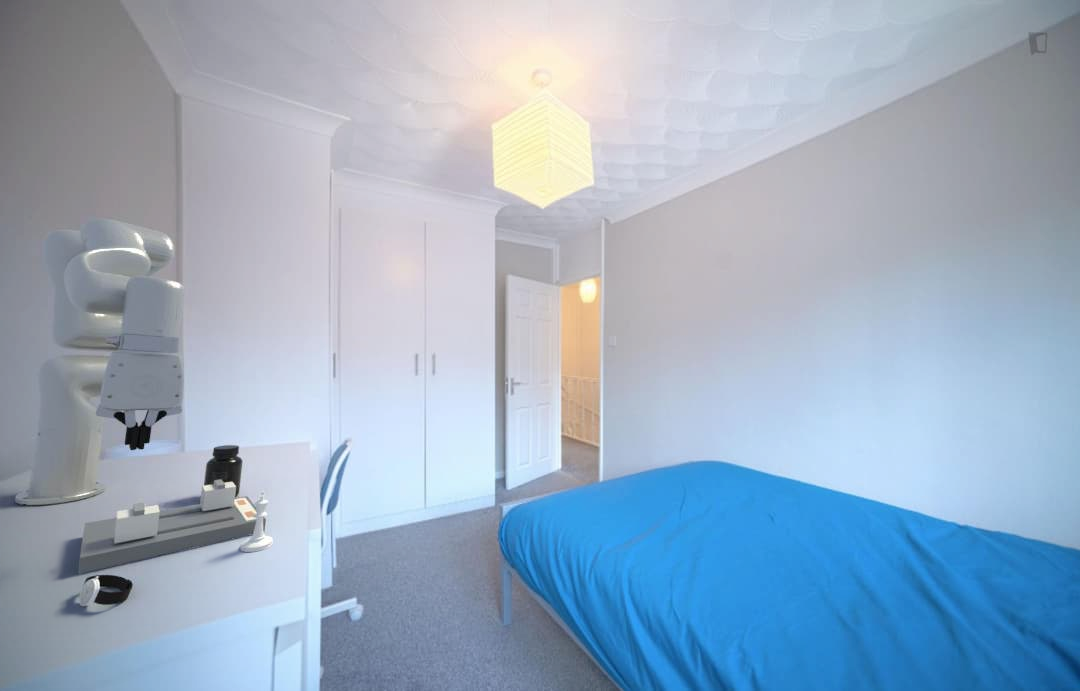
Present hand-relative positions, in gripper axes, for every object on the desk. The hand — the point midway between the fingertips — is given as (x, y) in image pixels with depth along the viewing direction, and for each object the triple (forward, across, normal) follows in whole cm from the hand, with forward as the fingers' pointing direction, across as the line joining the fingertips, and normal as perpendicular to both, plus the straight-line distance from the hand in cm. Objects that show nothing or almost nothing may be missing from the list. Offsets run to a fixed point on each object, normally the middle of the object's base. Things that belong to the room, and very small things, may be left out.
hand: (136, 448), depth 68 cm
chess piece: (+18, +16, -13) cm, 27 cm away
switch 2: (+14, +13, +4) cm, 20 cm away
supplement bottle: (+17, +17, +18) cm, 30 cm away
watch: (+18, -3, -17) cm, 25 cm away
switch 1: (+14, +1, -3) cm, 15 cm away
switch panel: (+17, +7, +1) cm, 19 cm away
